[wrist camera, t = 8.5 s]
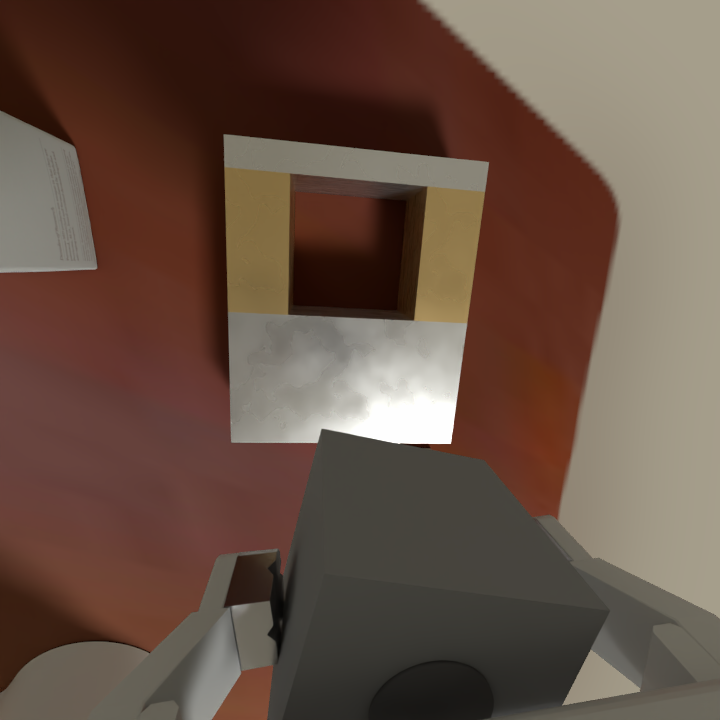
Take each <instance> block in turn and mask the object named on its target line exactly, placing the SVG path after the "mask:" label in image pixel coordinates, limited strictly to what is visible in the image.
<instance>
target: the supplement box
mask: <svg viewBox="0 0 720 720" xmlns="http://www.w3.org/2000/svg"><path fill="white" fill-rule="evenodd" d="M86 269H97V261H96V255H95V249H94V244H93V238H92V233H91V227H90V221H89V216H88V210H87V204H86V199H85V194H84V188H83V183H82V178H81V173H80V166H79V161H78V157H77V153H76V149H75V147H74V146H73V145H71V144H69V143H67V142H65V141H63V140H61V139H59V138H57V137H55V136H53V135H51V134H48V133H46V132H44V131H42V130H40V129H38V128H36V127H34V126H32V125H30V124H27V123H25V122H23V121H21V120H19V119H17V118H15V117H13V116H10V115H8V114H6V113H4V112H2V111H0V273H1V272H42V271H66V270H86Z"/></svg>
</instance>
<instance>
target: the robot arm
mask: <svg viewBox="0 0 720 720" xmlns="http://www.w3.org/2000/svg"><path fill="white" fill-rule="evenodd" d="M532 518H533V519H534V520H535V522H536V523H537V524H538V525H539V526H540V528H541V529H542V530H543V531H544V532H545V534H546V535H547V536H548V537H549V538H550V539H551V541H552V542H553V543H554V544H555V545H556V547H557V548H558V549H559V550H560V551H561V553H562V554H563V555H564V556H565V557H566V559H567V560H568V561H569V562H570V563H571V565H572V566H573V567H574V568H575V569H576V570H577V572H578V573H579V574H580V575H581V576H582V578H583V579H584V580H585V581H586V582H587V584H588V585H589V586H590V587H591V588H592V590H593V591H594V592H595V593H596V594H597V595H598V597H599V598H600V599H601V600H602V601H603V603H604V604H605V605H606V606H607V607H608V609H609V610H610V612H609V614H608V616H607V618H606V620H605V622H604V624H603V626H602V628H601V630H600V632H599V634H598V636H597V638H596V640H595V642H594V644H593V646H592V648H591V650H593V651H594V652H595V653H596V654H598V655H599V656H600V657H601V658H603V659H604V660H605V661H606V662H608V663H609V664H610V665H612V666H613V667H614V668H615V669H617V670H618V671H619V672H620V673H622V674H623V675H624V676H626V677H627V678H628V679H629V680H631V681H632V682H633V683H634V684H636V685H637V686H638V687H639V688H641V689H640V692H637V693H632V694H626V695H620V696H614V697H609V698H603V699H598V700H591V701H586V702H580V703H574V704H569V705H563V706H557V707H552V708H546V709H540V710H534V711H529V712H523V713H517V714H512V715H506V716H500V717H494V718H488V719H483V720H720V619H719V618H718V617H717V616H716V615H714V614H712V613H710V612H708V611H706V610H704V609H702V608H700V607H698V606H696V605H694V604H692V603H690V602H688V601H686V600H684V599H682V598H680V597H677V596H675V595H673V594H671V593H669V592H667V591H665V590H663V589H661V588H659V587H657V586H655V585H653V584H651V583H649V582H646V581H645V580H643V579H640V578H639V577H637V576H635V575H632V574H630V573H628V572H626V571H624V570H622V569H620V568H618V567H616V566H614V565H612V564H610V563H608V562H606V561H604V560H602V559H600V558H594V559H593V558H592V557H591V556H590V555H589V554H588V553H587V552H586V551H585V550H584V548H583V547H582V546H581V545H580V544H579V543H578V542H577V541H576V540H575V539H574V538H573V537H572V536H571V535H570V534H569V533H568V532H567V531H566V529H565V528H564V527H563V526H562V525H561V524H560V523H559V522H558V521H557V520H556V519H555V518H554V517H553V516H551V515H545V516H538V517H532ZM280 566H281V558H280V551H279V549H271V550H260V551H250V552H240V553H233V554H223V555H219V556H218V558H217V559H216V561H215V564H214V567H213V570H212V573H211V575H210V578H209V581H208V584H207V587H206V590H205V593H204V596H203V599H202V602H201V605H200V607H199V610H198V612H192V613H191V614H190V615H189V616H188V617H187V618H186V619H185V620H184V621H183V622H182V623H181V624H180V625H179V626H177V627H176V628H175V629H174V630H173V631H172V632H171V633H170V634H169V635H168V636H167V637H166V638H165V639H164V640H163V641H162V642H161V643H160V644H159V645H158V646H157V647H156V648H155V649H154V650H153V651H152V652H151V653H148V652H146V651H143V650H141V649H138V648H135V647H132V646H129V645H124V644H119V643H113V642H97V641H95V642H80V643H74V644H69V645H65V646H61V647H58V648H55V649H52V650H49V651H47V652H45V653H43V654H41V655H39V656H37V657H36V658H34V659H33V660H31V661H30V662H29V663H27V664H26V665H25V666H24V667H23V668H22V669H21V670H20V671H19V672H18V673H17V675H16V676H15V678H14V679H13V681H12V682H11V683H10V685H9V686H8V687H7V688H6V689H5V690H4V691H2V692H1V693H0V720H212V718H213V717H214V715H215V713H216V712H217V710H218V709H219V707H220V706H221V704H222V702H223V701H224V699H225V698H226V696H227V695H228V693H229V691H230V690H231V688H232V687H233V685H234V684H235V682H236V681H237V679H238V677H239V676H240V674H241V671H243V670H248V669H253V668H259V667H264V666H270V665H275V664H278V659H279V649H280V640H281V628H280V621H281V620H282V617H283V609H284V581H283V575H282V574H281V573H280Z"/></svg>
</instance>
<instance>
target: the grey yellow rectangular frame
mask: <svg viewBox="0 0 720 720" xmlns="http://www.w3.org/2000/svg"><path fill="white" fill-rule="evenodd" d="M488 165H489V162H481V161H472V160H462V159H453V158H444V157H434V156H425V155H415V154H406V153H396V152H387V151H377V150H368V149H359V148H349V147H340V146H330V145H321V144H311V143H302V142H292V141H283V140H274V139H264V138H255V137H245V136H236V135H226V134H224V167H225V208H226V248H227V289H228V330H229V370H230V411H231V442H238V443H318V440H319V436H320V432H321V429H327V430H332V431H338V432H343V433H348V434H353V435H358V436H363V437H368V438H373V439H378V440H383V441H388V442H393V443H451V438H452V430H453V423H454V416H455V408H456V401H457V394H458V386H459V379H460V371H461V364H462V357H463V349H464V342H465V335H466V327H467V320H468V313H469V305H470V298H471V290H472V283H473V276H474V268H475V261H476V254H477V246H478V239H479V232H480V224H481V217H482V209H483V202H484V195H485V187H486V180H487V173H488ZM295 191H299V192H310V193H321V194H333V195H344V196H355V197H366V198H377V199H389V200H400V201H406V209H405V220H404V232H403V243H402V255H401V266H400V277H399V289H398V300H397V310H378V309H358V308H338V307H319V306H299V305H293V289H294V235H295Z"/></svg>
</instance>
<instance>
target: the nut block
mask: <svg viewBox="0 0 720 720" xmlns="http://www.w3.org/2000/svg"><path fill="white" fill-rule="evenodd" d="M283 581H284V609H283V617H282V620H281V621H280V628H281V640H280V649H279V659H278V664H275V665H273V674H272V683H271V692H270V701H269V710H268V719H267V720H483V719H488V718H494V717H500V716H506V715H512V714H517V713H523V712H529V711H534V710H540V709H546V708H552V707H557V706H562V704H563V702H564V700H565V698H566V697H567V694H568V693H569V691H570V689H571V687H572V684H573V683H574V681H575V679H576V677H577V675H578V673H579V671H580V669H581V667H582V665H583V663H584V661H585V659H586V657H587V655H588V653H589V652H590V650H591V648H592V646H593V644H594V642H595V640H596V638H597V636H598V634H599V632H600V630H601V628H602V626H603V624H604V622H605V620H606V618H607V616H608V614H609V612H610V610H609V609H608V607H607V606H606V605H605V604H604V603H603V601H602V600H601V599H600V598H599V597H598V595H597V594H596V593H595V592H594V591H593V590H592V588H591V587H590V586H589V585H588V584H587V582H586V581H585V580H584V579H583V578H582V576H581V575H580V574H579V573H578V572H577V570H576V569H575V568H574V567H573V566H572V565H571V563H570V562H569V561H568V560H567V559H566V557H565V556H564V555H563V554H562V553H561V551H560V550H559V549H558V548H557V547H556V545H555V544H554V543H553V542H552V541H551V539H550V538H549V537H548V536H547V535H546V534H545V532H544V531H543V530H542V529H541V528H540V526H539V525H538V524H537V523H536V522H535V520H534V519H533V518H532V517H531V516H530V514H529V513H528V512H527V511H526V510H525V509H524V507H523V506H522V505H521V504H520V503H519V501H518V500H517V499H516V498H515V497H514V495H513V494H512V493H511V492H510V491H509V489H508V488H507V487H506V486H505V485H504V483H503V482H502V481H501V480H500V479H499V478H498V476H497V475H496V474H495V473H494V472H493V470H492V469H491V468H490V467H489V466H488V464H487V463H486V462H485V461H484V460H480V459H475V458H470V457H464V456H459V455H454V454H449V453H444V452H439V451H434V450H429V449H424V448H419V447H414V446H409V445H404V444H398V443H393V442H388V441H383V440H378V439H373V438H368V437H363V436H358V435H353V434H348V433H343V432H338V431H332V430H327V429H321V432H320V436H319V440H318V444H317V448H316V452H315V456H314V459H313V463H312V467H311V471H310V475H309V479H308V482H307V486H306V490H305V494H304V498H303V502H302V505H301V509H300V513H299V517H298V521H297V525H296V528H295V532H294V536H293V540H292V544H291V548H290V552H289V555H288V559H287V563H286V567H285V571H284V575H283Z"/></svg>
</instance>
